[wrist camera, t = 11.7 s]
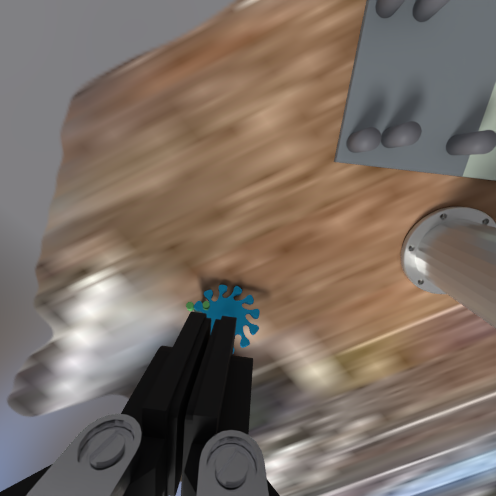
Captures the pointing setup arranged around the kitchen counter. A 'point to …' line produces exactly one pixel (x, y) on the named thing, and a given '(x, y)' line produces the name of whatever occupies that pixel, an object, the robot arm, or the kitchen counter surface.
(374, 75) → the spacer board
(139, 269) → the kitchen counter surface
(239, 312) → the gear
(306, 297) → the kitchen counter surface
